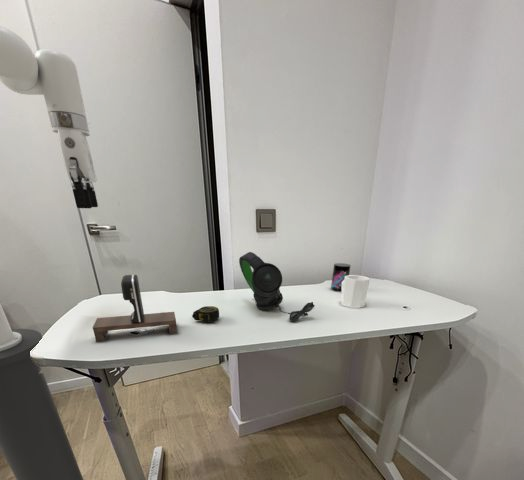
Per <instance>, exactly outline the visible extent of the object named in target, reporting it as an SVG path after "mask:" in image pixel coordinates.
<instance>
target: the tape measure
mask: <svg viewBox="0 0 524 480" xmlns="http://www.w3.org/2000/svg"><path fill="white" fill-rule="evenodd" d="M191 317H192V318H193V320H194V321H197V322H198V321H199V322H203V323H212V322H216V321H218V320H219V318H220V309H219V308H218V307H217V306H213V305H209V306H202V307H199V308H198V309H197V310H194V311H193V313H192V314H191Z"/></svg>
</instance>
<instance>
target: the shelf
mask: <svg viewBox="0 0 524 480" xmlns="http://www.w3.org/2000/svg"><path fill="white" fill-rule="evenodd" d="M177 325H178V324H177V318H176V313H175V311H165V312H153V313H144V320H143V322H131V314H129V315H117V316H105V317H96V320H95V321H94V323H93V326H92V332H93V335H94V340H95V342H96V343H104V342H106V339H107V336H108V333H109V331H119V330H120V331H121V330H130V329H140V328H152V327H161V326H168V331H169V335H177V334H178V326H177Z"/></svg>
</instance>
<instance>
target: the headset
mask: <svg viewBox="0 0 524 480" xmlns="http://www.w3.org/2000/svg"><path fill="white" fill-rule="evenodd" d="M238 265H239V268H240V271H241V273H242V276H243V277H244V279H245V282H246V283H247V285H248V286H249V288H250V290H251V291H252V292H253V295H252V296H253V299H254V302H255V306H256V308H257V309H258V310H260V311H269V310H272V309H274V308H275V309H277V308H278V309H279V312H280V313H283V314H287V315H289V317H288V321H290V322H297V321H298V320H299V319H300V318H303V317H308V316H309V314H308V313H309V312H311V311H312V310H313V309H314V308H315V304H314V302H313V301H311V302H307V303H306V304H305V305H304V306H303V307H302V309H300V310H294V311H291V312H287V311H283V310H281V307H280V304H281V303H282V302H283V300H284V296H283V294H282V292H281V290H280V288H281V286H282V284H283V274H282V272H281V270H280V269H279V267H277V266H276V265H274V264H273V263H270V262H264V260H263V259H262V258H261V257H260V256H258V255H257V254H256V253H255V252H252V251H249V252H248V251H247V253H245V254H243V255H242V256H240V257H239V258H238Z"/></svg>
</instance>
